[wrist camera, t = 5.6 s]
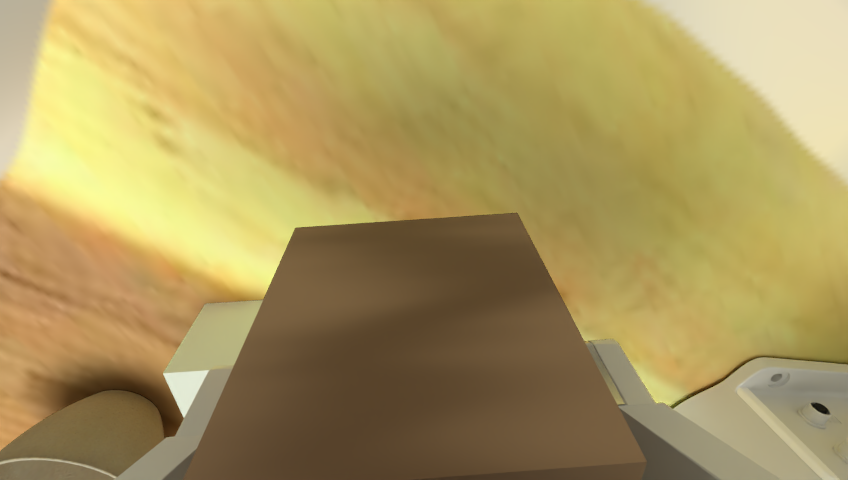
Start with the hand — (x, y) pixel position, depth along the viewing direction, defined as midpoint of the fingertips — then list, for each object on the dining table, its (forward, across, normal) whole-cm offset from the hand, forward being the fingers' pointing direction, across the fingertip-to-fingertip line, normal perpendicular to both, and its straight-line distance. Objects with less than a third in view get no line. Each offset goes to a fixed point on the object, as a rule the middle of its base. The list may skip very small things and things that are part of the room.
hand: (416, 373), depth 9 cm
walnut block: (+2, 0, 0) cm, 2 cm away
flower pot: (+16, +22, +19) cm, 34 cm away
